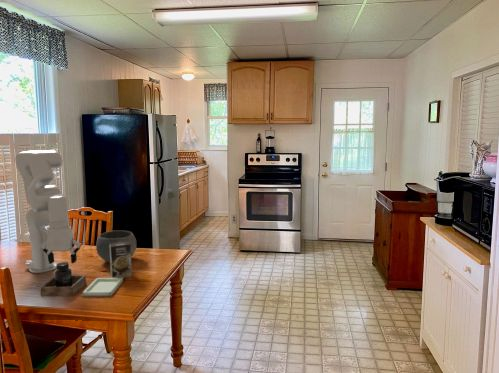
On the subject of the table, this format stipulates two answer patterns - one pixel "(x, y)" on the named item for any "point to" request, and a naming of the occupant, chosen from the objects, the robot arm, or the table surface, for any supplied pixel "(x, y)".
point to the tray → (102, 287)
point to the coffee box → (120, 260)
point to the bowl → (114, 237)
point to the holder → (51, 290)
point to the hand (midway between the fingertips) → (62, 262)
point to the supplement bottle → (63, 275)
